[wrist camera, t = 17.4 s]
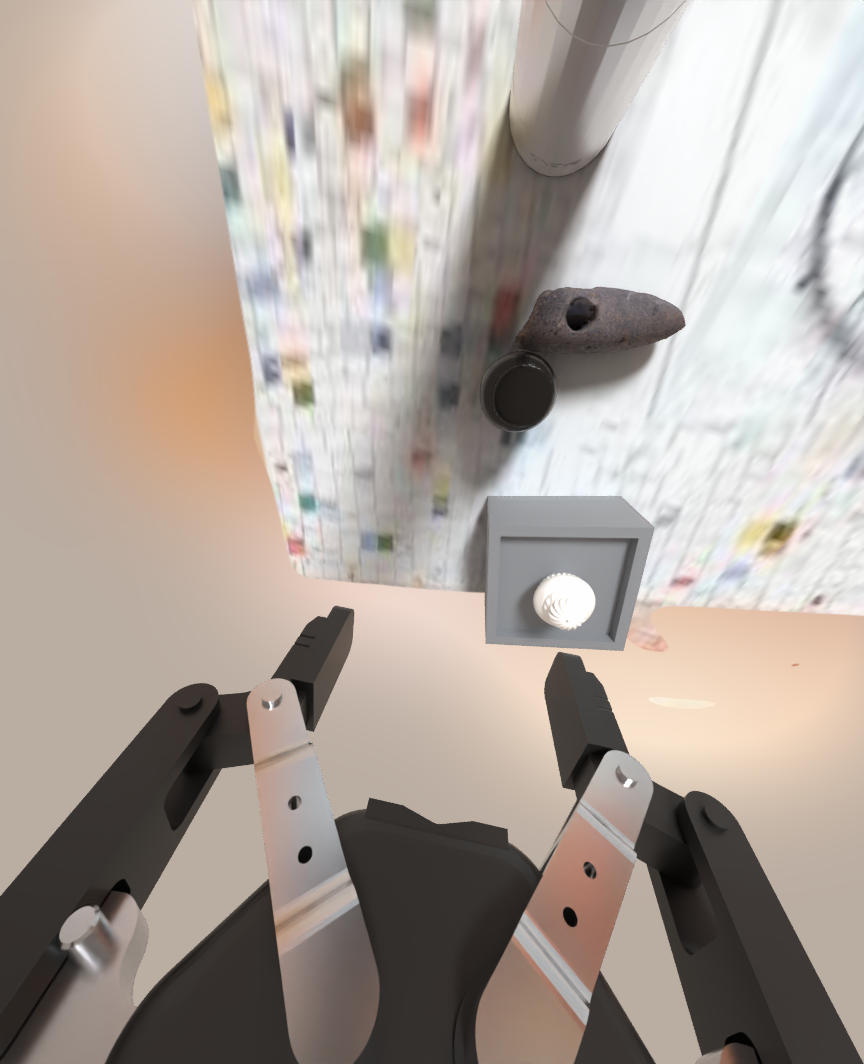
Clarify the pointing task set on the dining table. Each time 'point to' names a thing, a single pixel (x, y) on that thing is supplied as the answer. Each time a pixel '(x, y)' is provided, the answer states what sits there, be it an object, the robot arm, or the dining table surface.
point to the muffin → (564, 600)
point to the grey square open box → (563, 566)
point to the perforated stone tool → (597, 321)
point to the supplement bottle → (518, 391)
